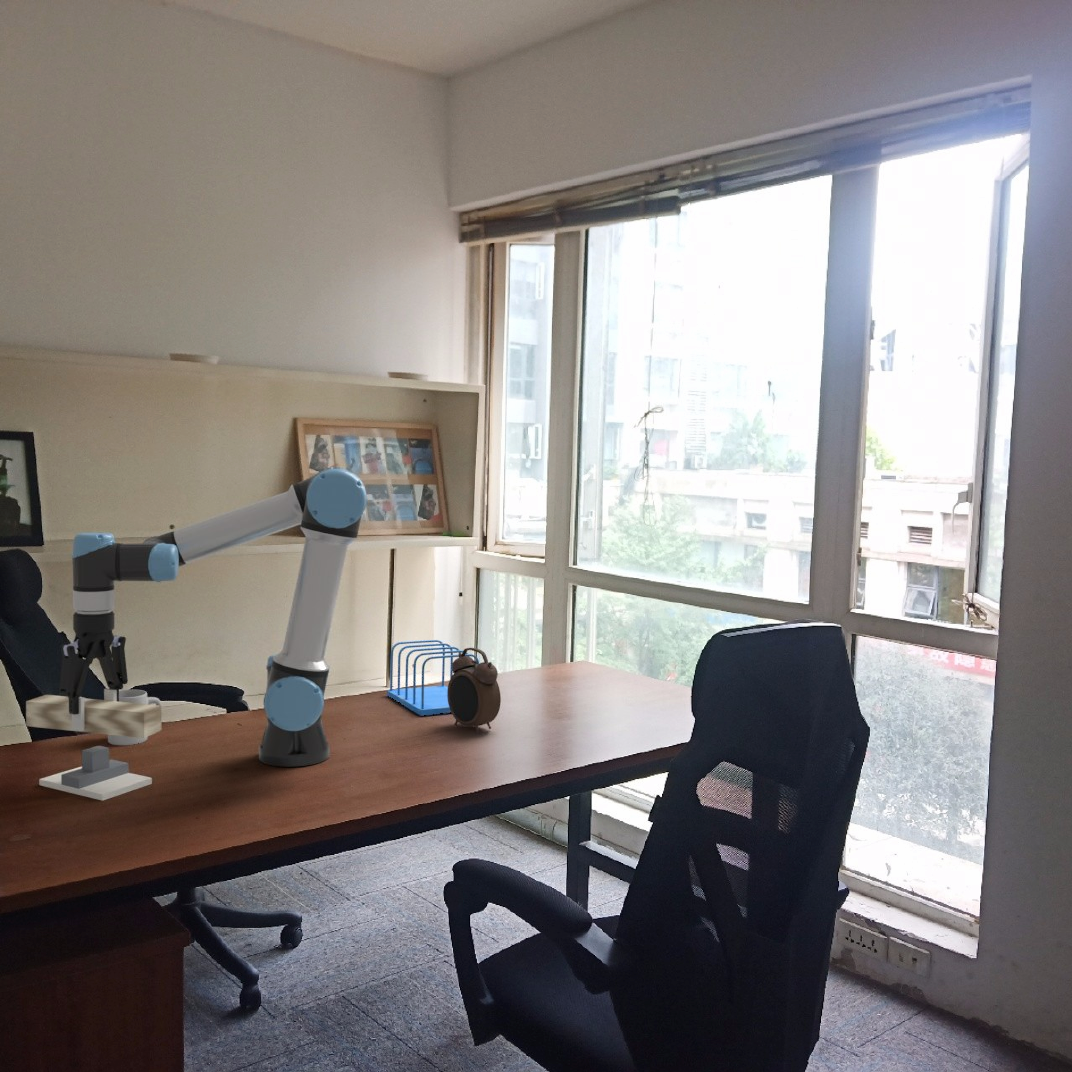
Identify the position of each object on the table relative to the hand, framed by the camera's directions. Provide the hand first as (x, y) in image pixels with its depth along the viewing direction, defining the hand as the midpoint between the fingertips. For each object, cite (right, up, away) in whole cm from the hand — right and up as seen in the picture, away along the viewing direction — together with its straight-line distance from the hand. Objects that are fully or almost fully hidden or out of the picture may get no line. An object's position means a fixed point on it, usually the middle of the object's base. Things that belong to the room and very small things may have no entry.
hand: (94, 725), depth 210 cm
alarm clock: (+72, -10, +49) cm, 88 cm away
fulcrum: (0, -12, +1) cm, 12 cm away
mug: (-5, -9, +34) cm, 35 cm away
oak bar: (0, -1, 0) cm, 1 cm away
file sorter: (+60, -8, +75) cm, 96 cm away
